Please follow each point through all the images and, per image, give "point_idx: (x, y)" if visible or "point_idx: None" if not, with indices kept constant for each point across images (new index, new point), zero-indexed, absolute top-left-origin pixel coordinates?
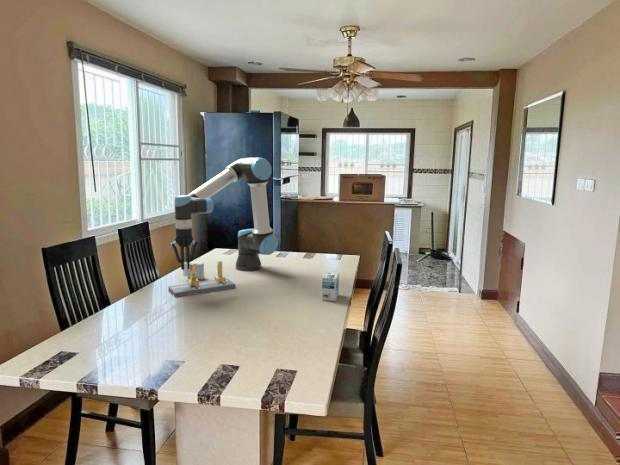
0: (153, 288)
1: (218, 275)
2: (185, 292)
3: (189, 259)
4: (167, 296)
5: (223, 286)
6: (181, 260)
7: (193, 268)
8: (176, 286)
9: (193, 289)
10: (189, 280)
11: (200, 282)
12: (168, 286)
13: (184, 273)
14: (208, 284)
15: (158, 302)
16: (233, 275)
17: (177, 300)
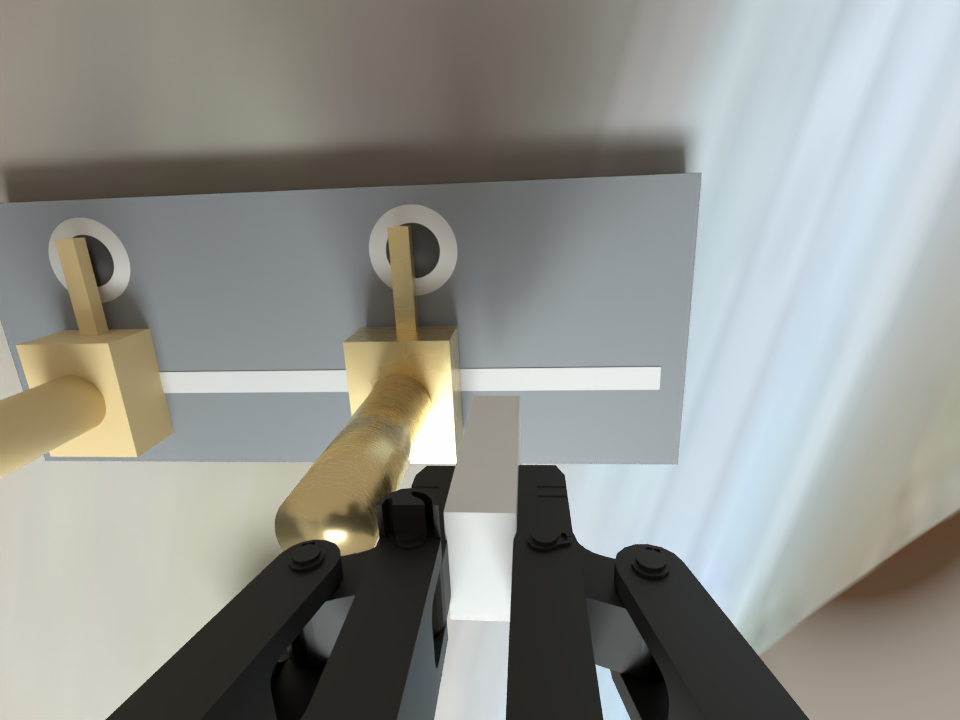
0: (770, 566)
1: (77, 396)
2: (564, 179)
3: (366, 572)
4: (748, 241)
5: (109, 199)
6: (581, 586)
7: (351, 448)
8: (599, 420)
9: (457, 213)
10: (453, 401)
11: (326, 442)
12: (676, 461)
13: (519, 423)
14: (257, 330)
15: (927, 51)
16: (3, 597)
17: (703, 24)
